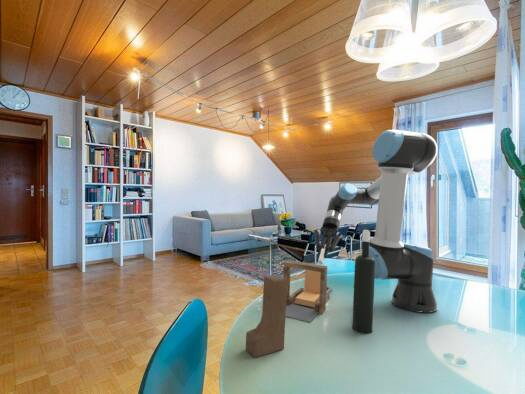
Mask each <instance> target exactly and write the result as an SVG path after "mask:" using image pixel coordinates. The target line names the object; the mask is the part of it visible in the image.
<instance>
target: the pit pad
mask: <svg viewBox="0 0 525 394" xmlns="http://www.w3.org/2000/svg"><path fill="white" fill-rule="evenodd" d="M332 290H333V287H330V286H326V293H331V292H333V291H332Z"/></svg>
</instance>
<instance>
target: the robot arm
mask: <svg viewBox="0 0 525 394" xmlns="http://www.w3.org/2000/svg"><path fill="white" fill-rule="evenodd" d="M437 154H438V145H437V141H436V140H435V139H434V138H433V137H432V136H431V135H429V134H427V133H424V132H413V131H409V130H402V129H388V130H385V131H383V132H381V134H380V135H378V137H377V138H376V140H375V141H374V144H373V148H372V156H373V160H374V161H376V162H377V163H378V164H377V169H378V170H379V171H380V172H381V175H380V176H379V177H378V178H377V179H376V180H374V181H373V182H372V183H371V184H370V185H368V186H367V187H365V188H357V187H356V186H355V185H353V184H351V183H349V182H348V183H344V184H343V185H342V186H340V188H339V189H338V190H337V192H336V194H334V195H333V196H331V197H330V199H329V202H328V206H327V209H326V213H325V215H324V218H323V219H324V220H323V223H322V226H321V228H320V229H319V230H317V229H315V230H314V233H315V247H316V250H318V254H317V256H318V257H319V258H318V265H324V261H325V259H326V258H328V255H329V252H331V253H332V252H334V251H335V249H336V247H337V245H338V243H339V242H340V240H341V239H343V233H342V232H340V231H339V228H340V223H341V220H342V216H343V212H344V210H345V209H346V208H347V207H348V205H365V206H366V205H367V206H377V214H376V220H375V221H376V222H375V231H374V236H373V237H372V238H370V242H369V256H371V257H372V258H373V259H374V260H375V280H384V281H385V280H397V283H396V286H395V287H394V290H393V292H392V295H391V302H393V303H394V304H393V303H392V304H393V305H395V304H396V305H397V306H396V305H395V306H396V307H398V306H399V307H398V308H401V307H402V308H401V309H403V308H404V309H403V310H406V309H407V310H406V311H410V310H412V312H415V311H422V312H430V311H434V310H436V309H438V307H437V306H438V304H437V299H436V297H435V295H434V294H435V293H434V291H433V276H434V275H433V273H434V261H435V260H434V259H435V258H434V252H433V250H432V248H430V247H426V246H421V245H418V244H411V243H405V242H402V241H401V233H402V227H403V226H402V225H403V218H404V209H405V202H406V201H405V200H406V193H407V192H406V191H407V185H408V178H410V177H412V175H414V174H417V173H422V172H423V171H424V170H426V169H427V168H428V167H430V165H432V164H433V162H434V161H435V159H436V157H437ZM321 234H322V238H320V236H321ZM320 239H321V240H320ZM320 241H321V242H320ZM360 255H362V253H361V254H360ZM436 311H437V310H436ZM422 312H421V313H422Z"/></svg>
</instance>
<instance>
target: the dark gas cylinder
mask: <svg viewBox="0 0 525 394" xmlns="http://www.w3.org/2000/svg"><path fill="white" fill-rule="evenodd" d="M361 236H362V237H361V243H362V245H361V254H362V255H361V254H360V255H358V256H356V257H355V259H354V277H353V279H354V280H353V298H352V299H353V300H352V302H353V303H352V321H351V322H352V323H351V328H352V330H353V331H355V332H357V333H359V334H363V335H368V334H372V333H373V322H374V321H373V320H374V303H375V301H374V299H375V298H374V297H375V296H374V295H375V280H376V279H375V260H374V259H373V258H372V257H371V256H369V244H370V240H371V238H370V237H371V232H370V229H363V231H362V235H361Z"/></svg>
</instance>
